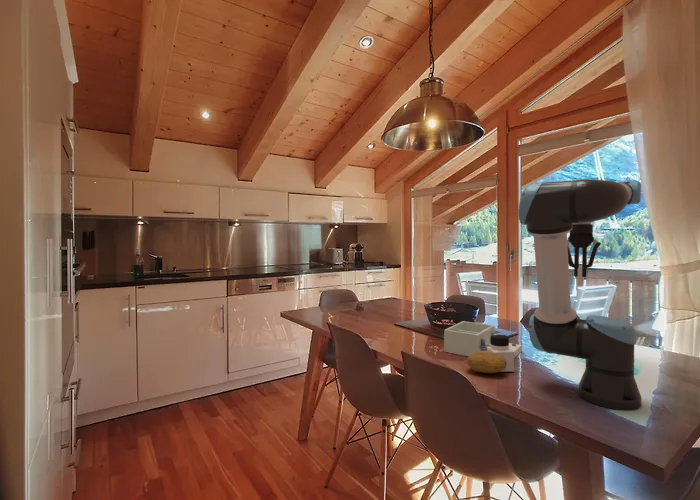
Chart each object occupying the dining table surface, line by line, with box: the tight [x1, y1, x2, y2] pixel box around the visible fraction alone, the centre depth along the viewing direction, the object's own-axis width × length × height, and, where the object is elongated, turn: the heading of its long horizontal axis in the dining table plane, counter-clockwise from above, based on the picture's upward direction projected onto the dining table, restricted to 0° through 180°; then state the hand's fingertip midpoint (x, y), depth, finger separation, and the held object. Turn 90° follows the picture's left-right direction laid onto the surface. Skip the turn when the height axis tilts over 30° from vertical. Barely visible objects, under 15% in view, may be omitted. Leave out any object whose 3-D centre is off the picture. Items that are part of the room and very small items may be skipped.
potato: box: [466, 352, 507, 374], centre depth 131 cm, size 9×13×7 cm
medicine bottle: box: [487, 333, 516, 373], centre depth 135 cm, size 7×7×12 cm
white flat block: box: [480, 342, 523, 359], centre depth 152 cm, size 18×11×4 cm, turn 141°
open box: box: [443, 320, 496, 357], centre depth 158 cm, size 20×18×9 cm
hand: (580, 285), depth 145 cm, fingers closed
